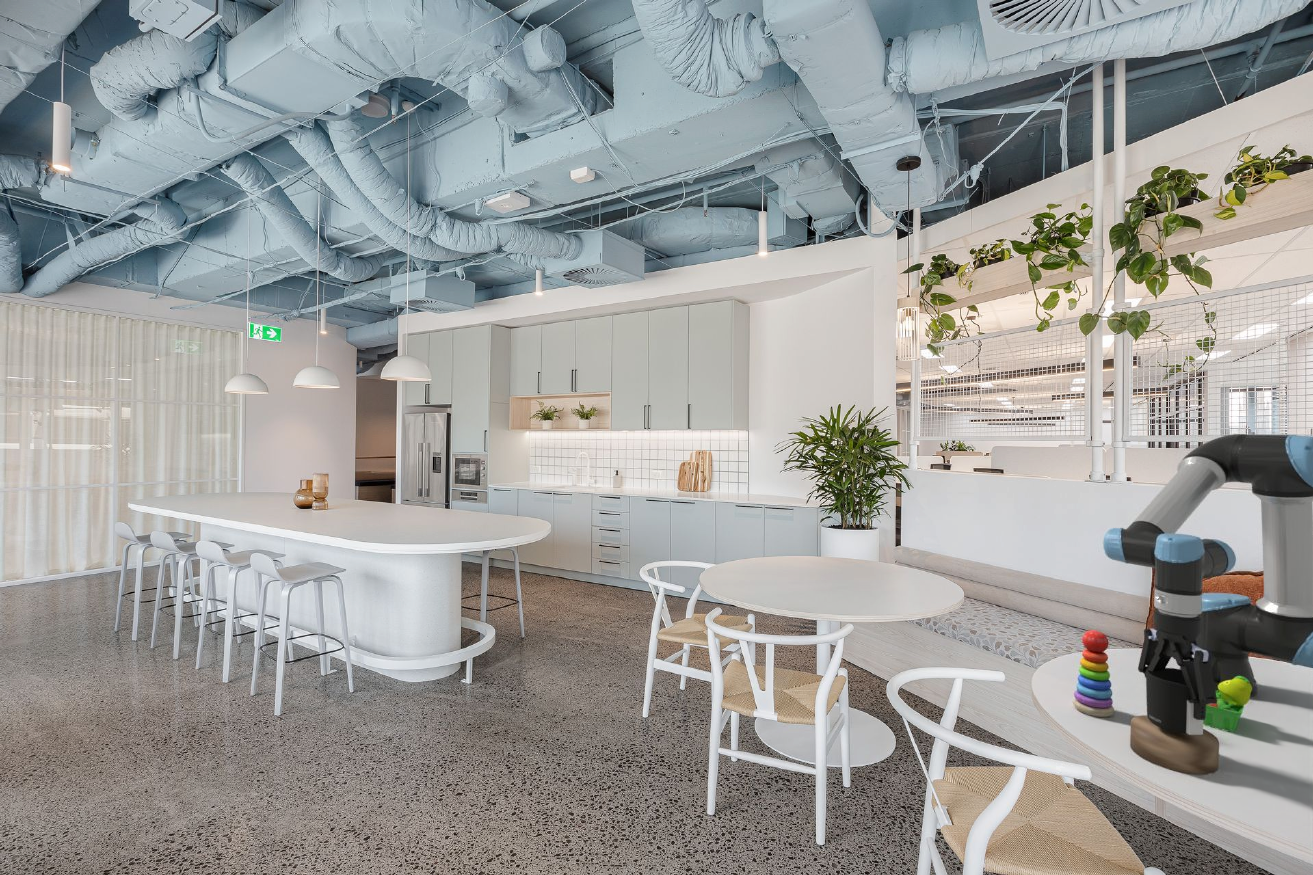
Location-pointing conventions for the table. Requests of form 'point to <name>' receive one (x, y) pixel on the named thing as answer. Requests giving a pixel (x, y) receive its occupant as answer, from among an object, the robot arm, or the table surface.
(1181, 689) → the pen holder
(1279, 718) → the table surface
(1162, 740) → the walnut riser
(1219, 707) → the fruit basket
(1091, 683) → the stacking toy
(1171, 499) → the robot arm
